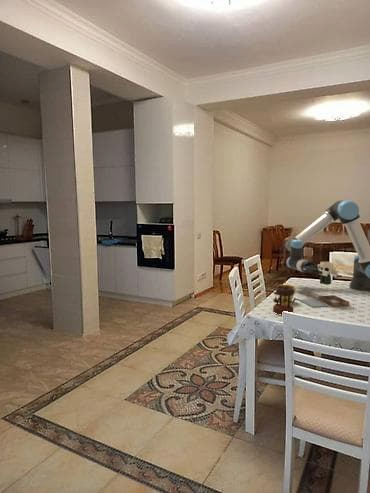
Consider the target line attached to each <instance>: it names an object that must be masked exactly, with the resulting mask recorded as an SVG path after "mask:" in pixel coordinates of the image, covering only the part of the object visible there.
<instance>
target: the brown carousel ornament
mask: <svg viewBox="0 0 370 493" xmlns="http://www.w3.org/2000/svg"><path fill="white" fill-rule="evenodd" d="M284 285H287V286H288V287H292V288H293V289H294V294H293V295H292V296H290V301H293V300H294V296H295V294H296V290H297V288H296V286H295V285H291V284H285V283H284V284H280V286H284ZM278 286H279V284H278V285H277V287H278ZM278 297H279V298H280V295H278ZM286 298H287V300H288V296H287V297H286ZM282 299H284V296H282ZM281 301H282V303H281V304H288V301H287V302H285V303H283V300H281ZM291 304H293V303H292V302H291V303H290V305H291Z"/></svg>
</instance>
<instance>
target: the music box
mask: <svg viewBox="0 0 370 493" xmlns="http://www.w3.org/2000/svg"><path fill="white" fill-rule="evenodd" d="M273 281H275V285H277V283H278V285H279V286H278V285H277V286H276V288H275V291H274V292H273V294H274V295H275V297H274V299H273V303H275V304H274V305H273V308H272V312H275V313H277V314H281V315H282V312H283V311H288V312H293V313H294V307H293V305H291V304H294V303H295V301H300V300H301V299H299V298H295V297H293V299H292V301H290V296H292V295H293V294H294V295H295V293H294V289H293V288H292V287H288V286H287V285H288V284H287V277H285V276H284V277H278V278H276V279H273ZM282 283H284V284H285V285H284V286H280V285H281V284H282ZM279 295H280V298H279ZM277 296H278V297H277ZM282 296H284V299H282ZM287 296H288V300H287V298H286V297H287ZM281 300H283V303H285V302H287V301H288V304H283V303H282V301H281ZM291 302H292V303H291ZM290 303H291V304H290ZM275 313H274V314H275ZM277 314H276V315H277ZM281 315H280V316H281Z"/></svg>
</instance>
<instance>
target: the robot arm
mask: <svg viewBox="0 0 370 493" xmlns="http://www.w3.org/2000/svg"><path fill="white" fill-rule="evenodd" d="M359 212H360V208H359V205H358V204H357V203H356V202H355V201H352V200H348V199H347V200H337V201H335V202H334V203H333V204H331V206H329V207H327V209H326V210H324V211H323V214H322V215H320V216H319V217H318V218H317V219H315V221H313V222H312V223H310V224H309V225H308V226H307V227H306V228H304V229H303V230H302V231H301V232H300V233H298V234H297V235H296V236H294V237H293V238H292V239H290V240H288V241H287V242H286V243H285V248H286V250H287V251H289V252H290V254H289V255H290V256H289V257H288V258H287V259H286V261H285V262H286V266H287V267H288V268H290V269H292V270H295V271H296V270H297V271H299V272H300V273H306V274H312V275H314V274H315V276H318V275H320V276H321V275H323V276H327V274H328V272H327V271H324V270H320V269H319V270H318V264H315V263H313V261H310V260H306V259H303V249H304V248H303V247H304V244H306V243H307V242H308V241H309V240H311V239H312V238H313V237H314V236H316V235H318V234H319V232H321V231H322V230H324V229H325V228H326V227H328V226H329V225H330V224H331V223H335V222H336V221H338V220H339V222H340V224H341V225H343V226H344V227H345V228H346V232H347V234H348V236H349V238H350V240H351V242H352V246H353V247H354V250H355V252H356V253H357V255H355V256H354V259H353V271H352V278H351V280H350V282H349V288H350V289H352V290H355V289H356V290H355V291H361V290H370V243H369V241H368V238H367V237H366V234H365V231H364V229H363V228H362V224H361V222H360V219H361V216H360V214H359ZM319 268H320V266H319ZM333 271H334V269H333ZM331 275H334V276H339V270H337V269H336V272H333V273H332V274H331Z"/></svg>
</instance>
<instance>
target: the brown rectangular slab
mask: <svg viewBox="0 0 370 493" xmlns="http://www.w3.org/2000/svg"><path fill="white" fill-rule="evenodd" d="M317 297H318V301H320V302H322V303H324V304H326V305H328V306H331V307H347V306H350V301H348V300H346V299H344V298H341V297H339V296H336V295H335V294H334V295H332V294H331V295H330V294H329V295H318V296H317ZM331 300H334V301H335V302H334V301H331Z"/></svg>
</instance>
